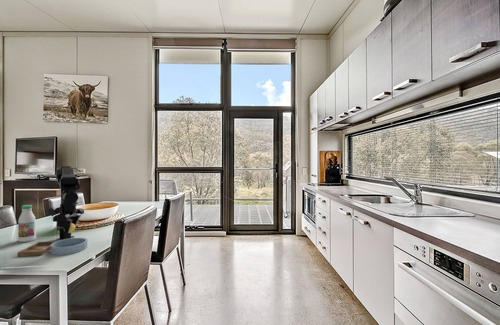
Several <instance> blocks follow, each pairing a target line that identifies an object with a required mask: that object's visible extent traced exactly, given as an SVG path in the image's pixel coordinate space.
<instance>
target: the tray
mask: <svg viewBox="0 0 500 325" xmlns="http://www.w3.org/2000/svg"><path fill="white" fill-rule="evenodd" d="M57 241H58V240H51V241H38V242H35V243H34V244H32V245H29V246H28V247H25V248H24V249H21V250H20V251H18V252H17V253H16V255H17V257H19V258H21V257H39V256H43V255H45V254H47V253H48V252H50V251H51V244H52V243H54V242H57Z"/></svg>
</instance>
